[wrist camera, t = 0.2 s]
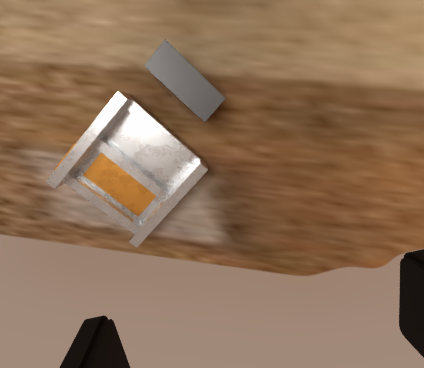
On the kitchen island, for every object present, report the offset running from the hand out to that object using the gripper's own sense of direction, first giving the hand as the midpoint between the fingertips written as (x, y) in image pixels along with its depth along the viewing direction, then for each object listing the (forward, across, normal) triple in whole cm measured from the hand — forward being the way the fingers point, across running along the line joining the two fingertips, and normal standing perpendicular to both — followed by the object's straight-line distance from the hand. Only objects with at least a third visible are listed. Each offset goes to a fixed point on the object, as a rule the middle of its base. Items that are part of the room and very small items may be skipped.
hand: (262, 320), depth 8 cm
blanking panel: (+36, +1, -10) cm, 38 cm away
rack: (+36, +12, 0) cm, 38 cm away
